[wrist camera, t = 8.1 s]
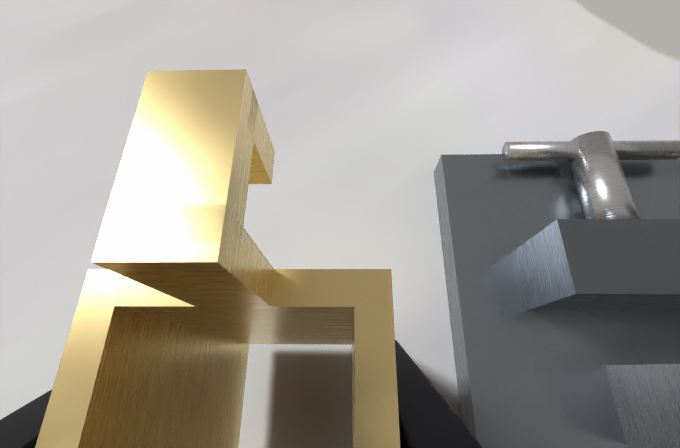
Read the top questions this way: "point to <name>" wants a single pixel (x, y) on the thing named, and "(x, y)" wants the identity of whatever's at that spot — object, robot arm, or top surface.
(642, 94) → the top surface
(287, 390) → the top surface
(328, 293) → the gold open box
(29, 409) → the robot arm
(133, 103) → the top surface
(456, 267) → the grey base plate
